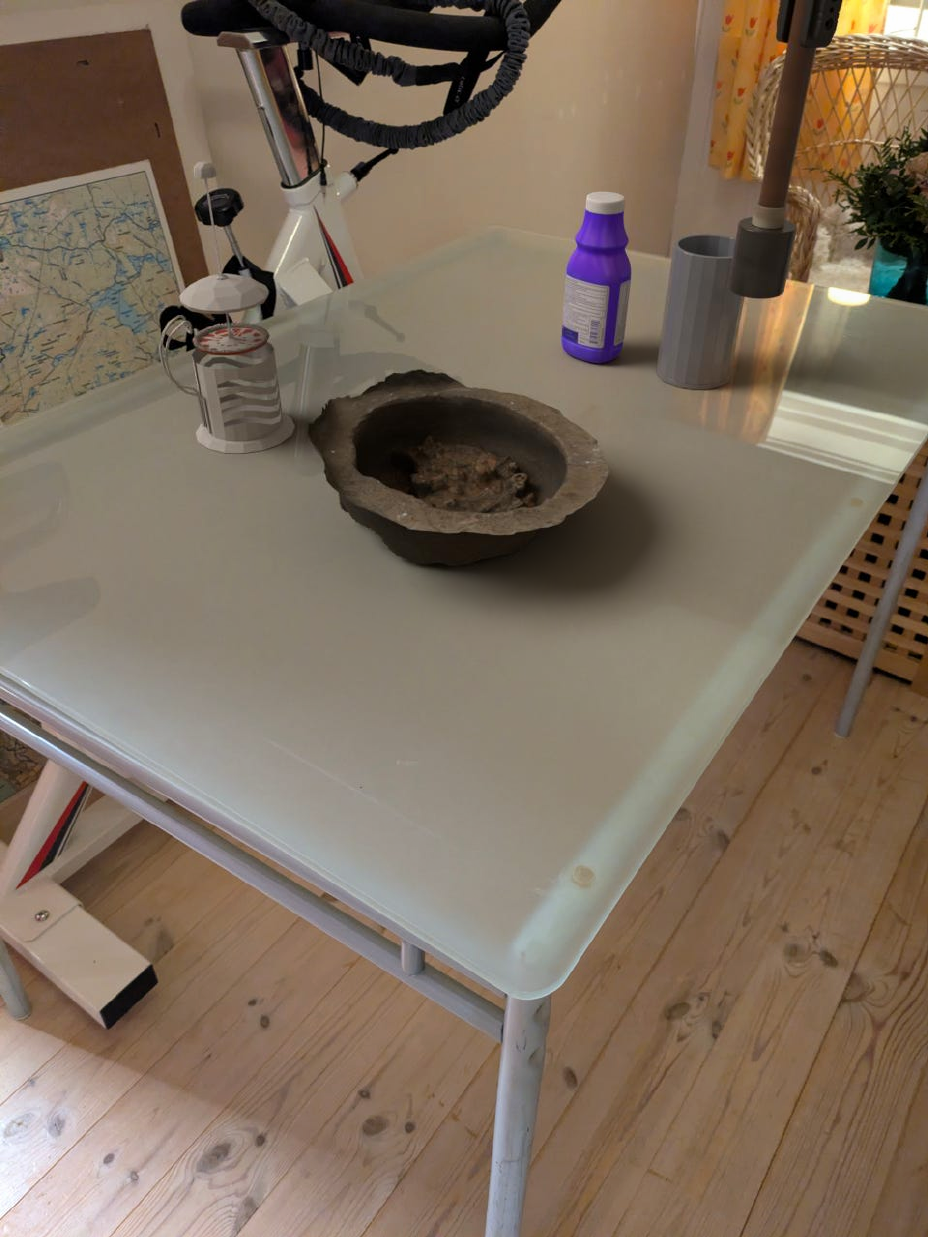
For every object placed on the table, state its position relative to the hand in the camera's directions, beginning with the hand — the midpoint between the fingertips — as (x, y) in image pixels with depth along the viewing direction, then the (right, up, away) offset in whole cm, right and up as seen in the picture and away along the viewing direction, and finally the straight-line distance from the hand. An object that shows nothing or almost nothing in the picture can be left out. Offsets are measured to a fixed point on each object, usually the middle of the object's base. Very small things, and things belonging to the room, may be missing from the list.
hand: (802, 42), depth 66 cm
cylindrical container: (+2, -13, +40) cm, 42 cm away
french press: (-46, -21, +30) cm, 59 cm away
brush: (0, -13, +11) cm, 17 cm away
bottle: (-9, -9, +45) cm, 46 cm away
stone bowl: (-24, -31, +17) cm, 43 cm away
